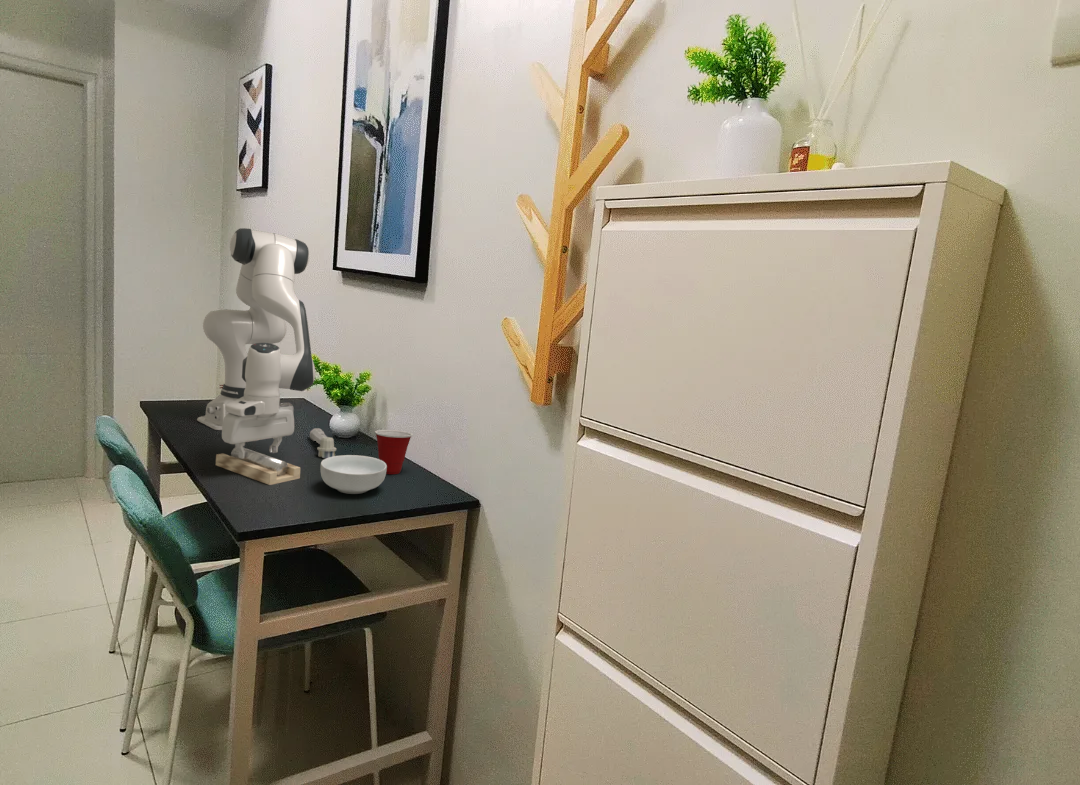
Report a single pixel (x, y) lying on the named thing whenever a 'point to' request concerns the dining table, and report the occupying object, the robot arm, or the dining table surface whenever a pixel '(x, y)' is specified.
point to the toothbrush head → (323, 443)
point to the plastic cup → (392, 448)
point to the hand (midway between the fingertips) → (258, 455)
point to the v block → (256, 470)
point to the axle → (263, 461)
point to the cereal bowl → (353, 473)
